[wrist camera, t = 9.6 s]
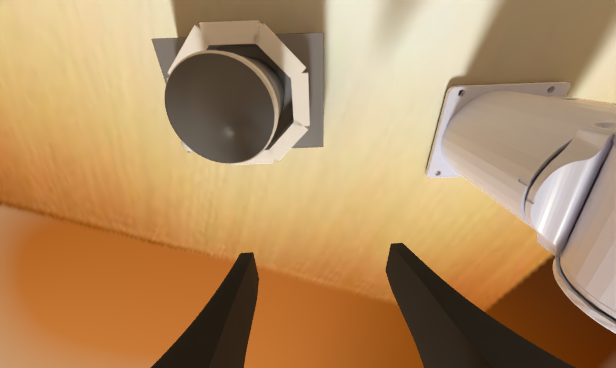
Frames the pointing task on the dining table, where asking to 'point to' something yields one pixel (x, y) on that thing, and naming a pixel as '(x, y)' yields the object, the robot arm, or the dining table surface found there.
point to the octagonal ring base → (282, 58)
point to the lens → (224, 104)
